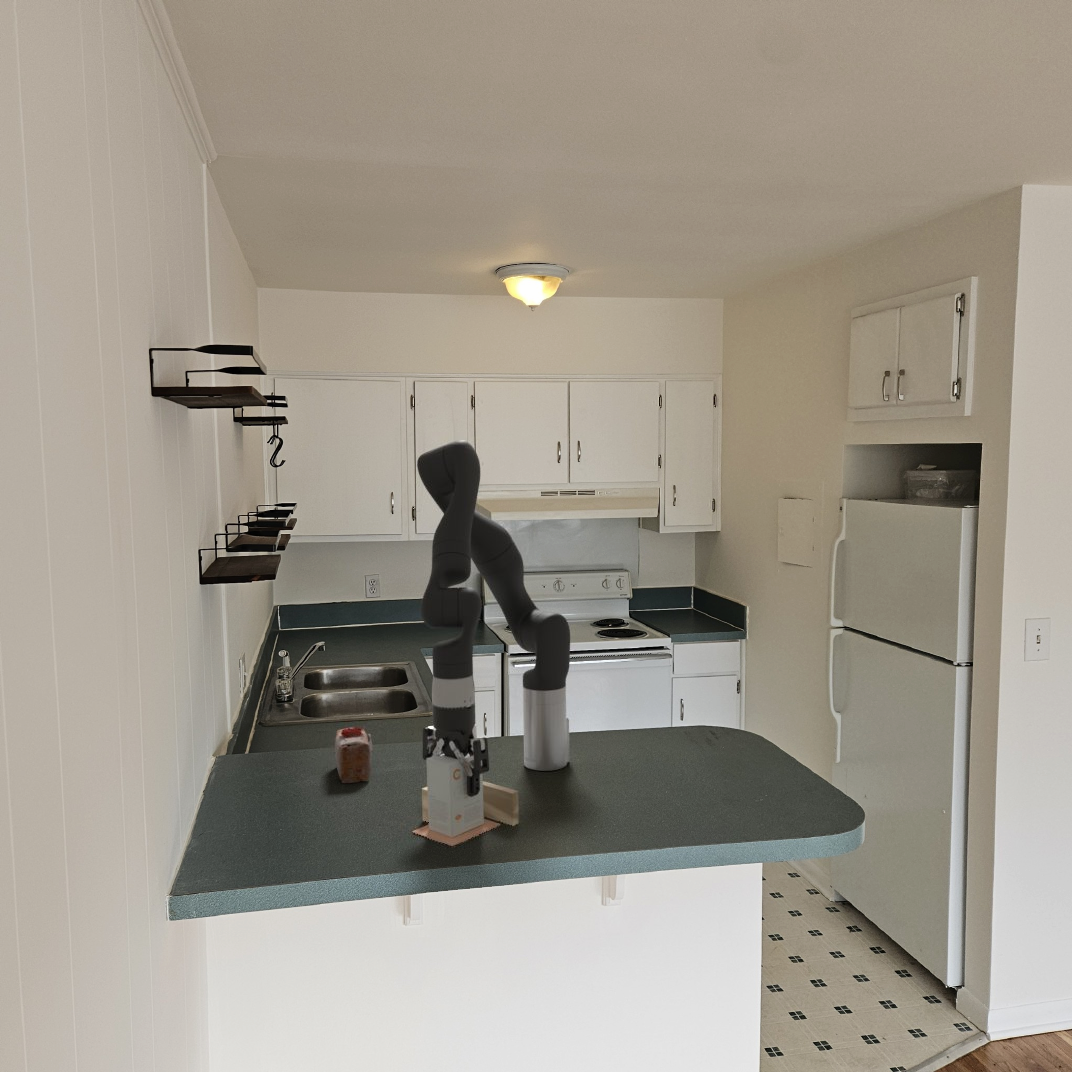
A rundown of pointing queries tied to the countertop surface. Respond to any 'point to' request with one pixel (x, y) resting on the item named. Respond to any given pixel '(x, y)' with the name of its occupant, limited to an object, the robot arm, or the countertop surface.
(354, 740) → the food item
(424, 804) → the wall side
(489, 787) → the wall back
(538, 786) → the countertop surface
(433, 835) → the mat
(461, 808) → the small box
